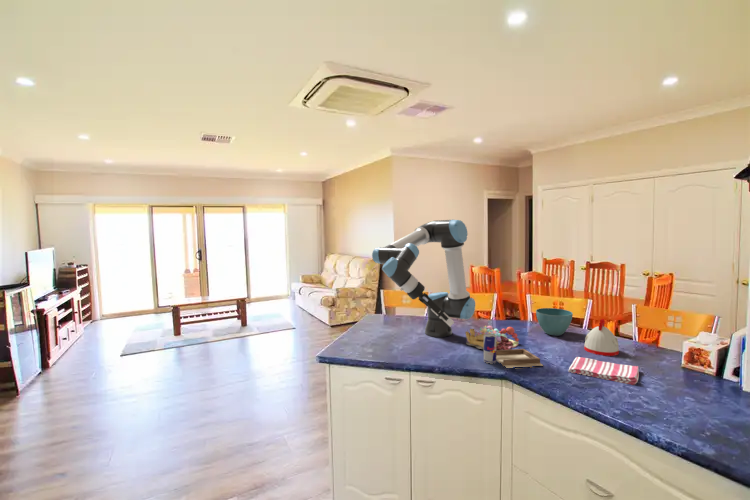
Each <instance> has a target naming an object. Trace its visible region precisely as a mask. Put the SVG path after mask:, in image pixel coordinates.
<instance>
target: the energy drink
mask: <svg viewBox="0 0 750 500" xmlns="http://www.w3.org/2000/svg"><path fill="white" fill-rule="evenodd" d="M483 362H484V363H485V362H486V363H485V364H488V363H490V364H489V365H494V364H496V363H497V360H496V335H494V334H484V349H483ZM493 363H494V364H493Z"/></svg>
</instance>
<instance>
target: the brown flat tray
mask: <svg viewBox="0 0 750 500" xmlns="http://www.w3.org/2000/svg"><path fill="white" fill-rule="evenodd" d="M496 362H498V363H499V364H500V363H501V364H502V365H501V364H500V365H501V366H503V367H504V366H505V367H506V368H513V367H530V368H533V367H532V366H543V367H544V365H543V363H541V358H540V357H538V356H537V355H535V354H533V353H532V352H530V351H528V350H527V349H525V348H510V349H509V350H496ZM505 367H504V368H505ZM506 368H505V369H506Z"/></svg>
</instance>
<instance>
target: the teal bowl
mask: <svg viewBox="0 0 750 500" xmlns="http://www.w3.org/2000/svg"><path fill="white" fill-rule="evenodd" d="M535 315H536V320H537V322H538V325H539V326H540V328H541V330H542V331H543V332H544V333H545V334H547V335H549V336H561V335H563V334H564V333H566V331H567V330H568V329H569V328H570V325H571V323H572V320H573V316H574V315H573V312H572V311H570V310H567V309H563V308H555V307H554V308H553V307H543V308H542V307H541V308H537V309H536V310H535Z"/></svg>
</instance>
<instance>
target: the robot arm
mask: <svg viewBox="0 0 750 500" xmlns="http://www.w3.org/2000/svg"><path fill="white" fill-rule="evenodd" d="M467 239H468V229H467V226H466V224H465V223H464V222H463V221H462V220H459V219H443V220H442V219H441V220H439V219H438V220H432V221H427V222H426V223H423V224H422V225H419V226H417V227H416V228H415V229H414V230H413V231H412V232H410V233H409V234H406V235H404V236H403V237H401V238H399V239H397V240H396V241H393V242H392V243H390V244H388V245H386V246H383V247H381V246H379V247H375V248H374V249H373V250H372V254H371V257H372V261H373V262H375V264H380V265H382V268H381V270H382V271H383V273H384V274H385V275H386V276H387V277H388V278H389V279H390V280H391V281H393V283H394V284H396V285H397V286H398V287H399V288H400V291H403V292H404V293H405V294H406V295H407V296H408V297H409V298H411V299H412V300H416V299H418V301H419V302H421V303H422V304H424V305H425V306H426V307H427V321H426V324H425V327H424V334H425V335H426V336H429V337H434V338H435V337H437V338H442V337H449V336H451V335H452V334H453V328H452V325H454V323H455V321H454V320H453V319H459V320H469V319H470V320H471V318H472V317H473V316H474V313H475V311H476V300H475V299H474V298H473V297H471V294H470V292H469V291H467V283H466V277H465V268H464V267H465V266H464V258H463V249H462V248H463V247H464V245H465V242H466V241H467ZM429 243H440V246H441V248H442V249H443V250H444V254H445V262H446V270H447V277H448V278H447V280H448V284H449V292H447V291H441V292H440V291H438V292H432V293H429V294H427V293H426V292H424V291H425V287H426V286H424V284H422V283H421V282H420V281H419V280H418V278H416V277H415V276H414V275H413V274H412V273H411V272H410V271H409V270H410V269H411V267H412V265H413V264H414V263H415V261H416V260H417V259H418V256H419V255H420V250H419V246H421V245H427V244H429Z"/></svg>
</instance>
